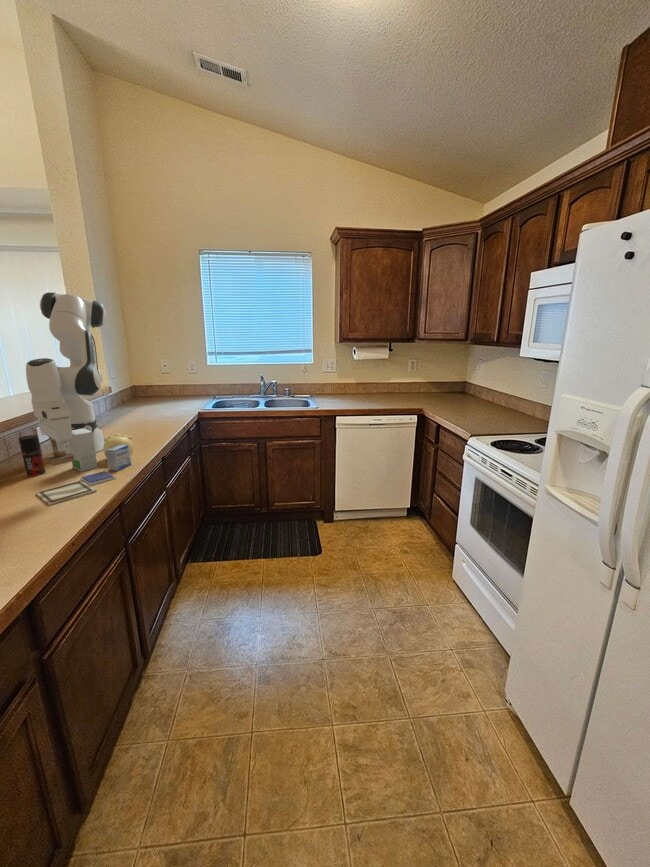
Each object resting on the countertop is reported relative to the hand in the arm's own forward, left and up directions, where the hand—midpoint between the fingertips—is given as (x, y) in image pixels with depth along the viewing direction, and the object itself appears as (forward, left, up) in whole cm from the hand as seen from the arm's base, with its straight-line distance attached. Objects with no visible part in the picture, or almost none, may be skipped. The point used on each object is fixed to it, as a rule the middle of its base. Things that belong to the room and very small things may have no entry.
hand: (58, 449), depth 128 cm
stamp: (0, 0, -4) cm, 4 cm away
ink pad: (-5, +12, -16) cm, 20 cm away
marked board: (0, 0, -16) cm, 16 cm away
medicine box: (-12, +23, -16) cm, 30 cm away
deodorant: (-31, -1, -16) cm, 35 cm away
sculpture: (-24, +28, -16) cm, 40 cm away
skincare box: (-23, +14, -16) cm, 31 cm away
